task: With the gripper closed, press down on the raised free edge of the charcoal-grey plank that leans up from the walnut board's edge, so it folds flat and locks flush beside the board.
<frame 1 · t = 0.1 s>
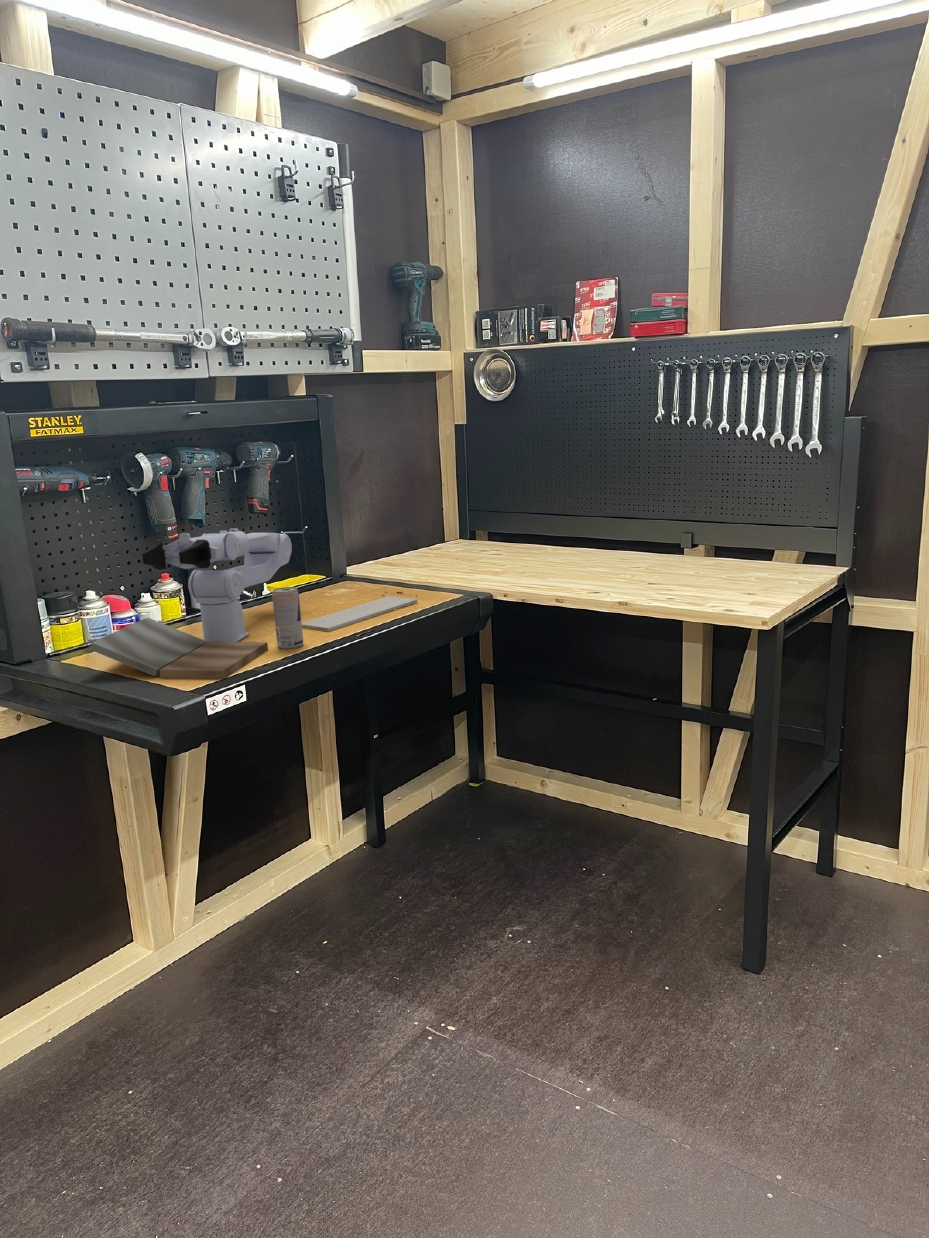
hand: (162, 558, 175), 22 cm above the table, tool horizontal, fingers open, 7 cm apart
baseboard molding: (356, 617, 218), on the table
laid board: (216, 663, 182), on the table
energy drink: (290, 646, 192), on the table
plank: (151, 645, 184), point 4 cm above the table, hinge at 22.0°
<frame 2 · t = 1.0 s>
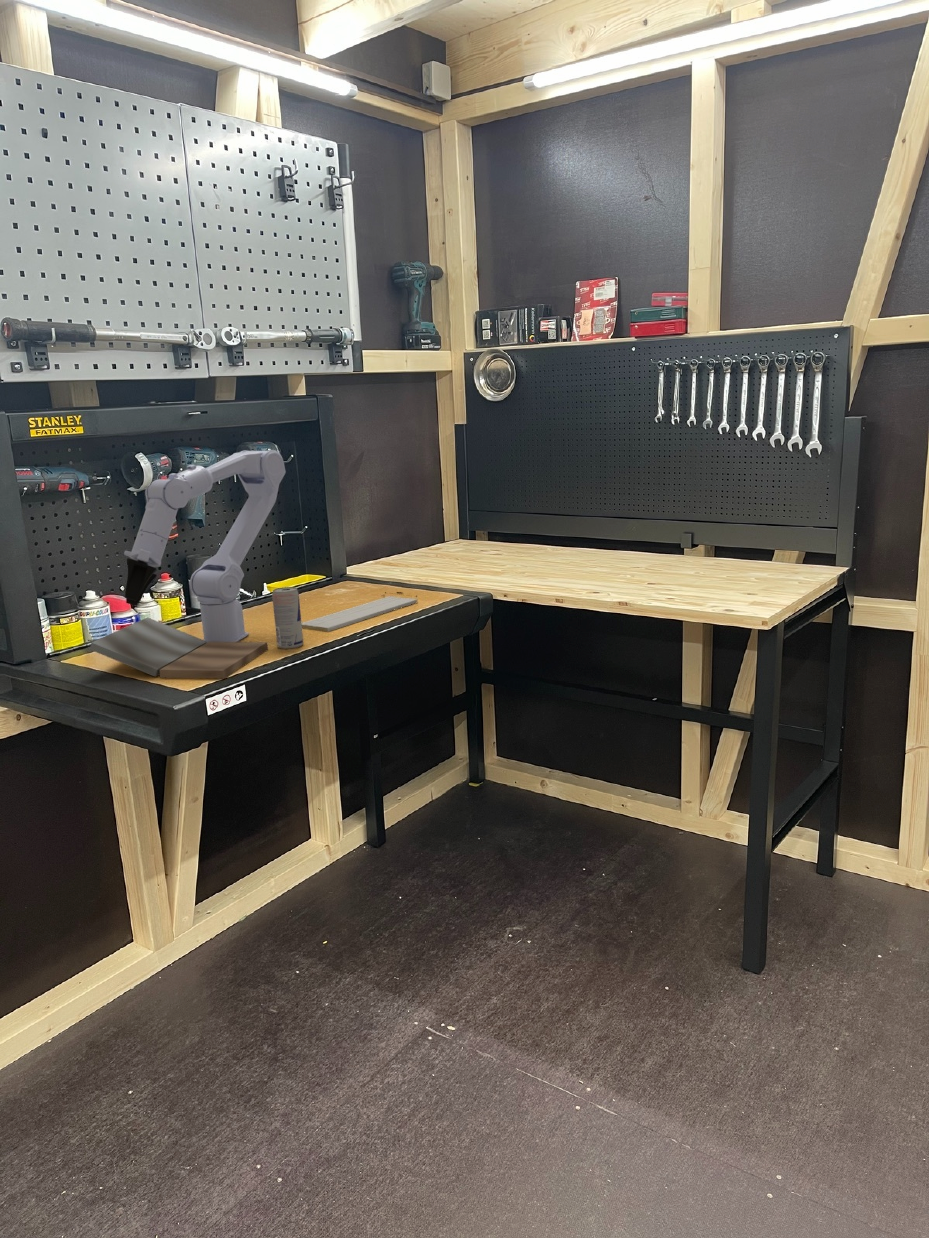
hand: (130, 601, 179), 13 cm above the table, tool tilted 30°, fingers open, 7 cm apart
nothing on the table moved.
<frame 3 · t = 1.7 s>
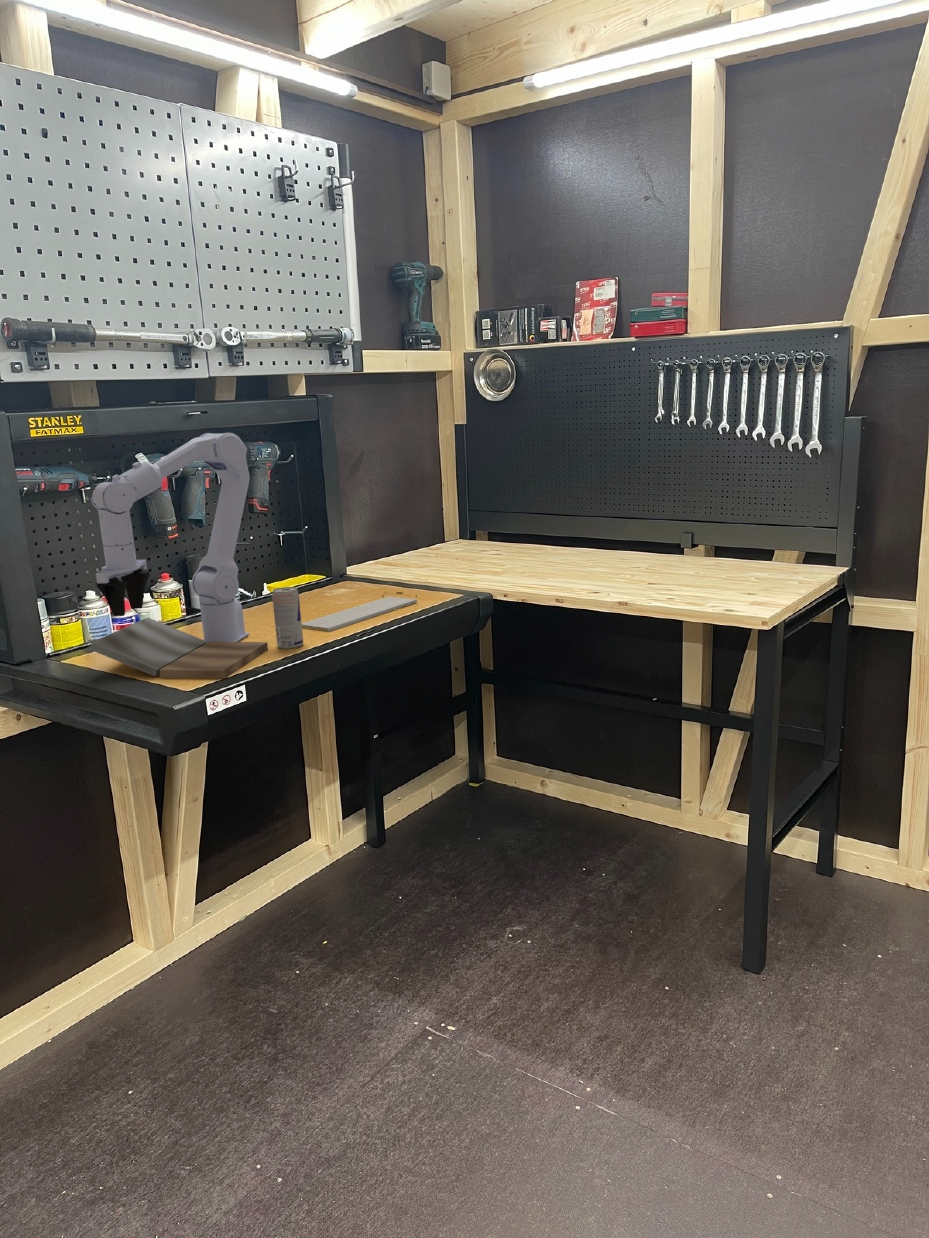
hand: (128, 611, 183), 10 cm above the table, tool pointing down, fingers open, 6 cm apart
nothing on the table moved.
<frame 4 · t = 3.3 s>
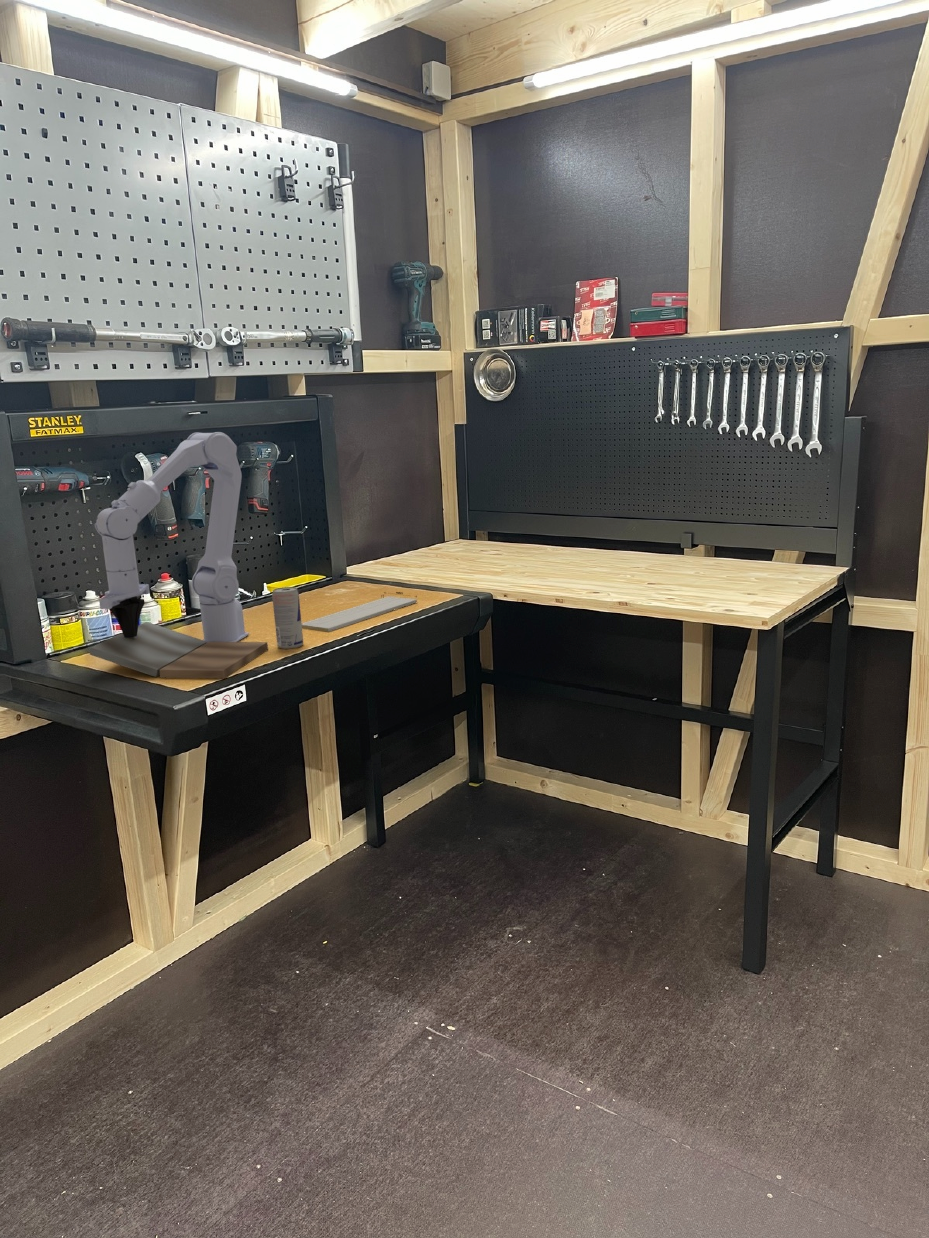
hand: (130, 636, 184), 5 cm above the table, tool pointing down, fingers closed, pressing on plank
plank: (151, 647, 184), point 3 cm above the table, hinge at 17.8°, touching gripper
everything else where it was.
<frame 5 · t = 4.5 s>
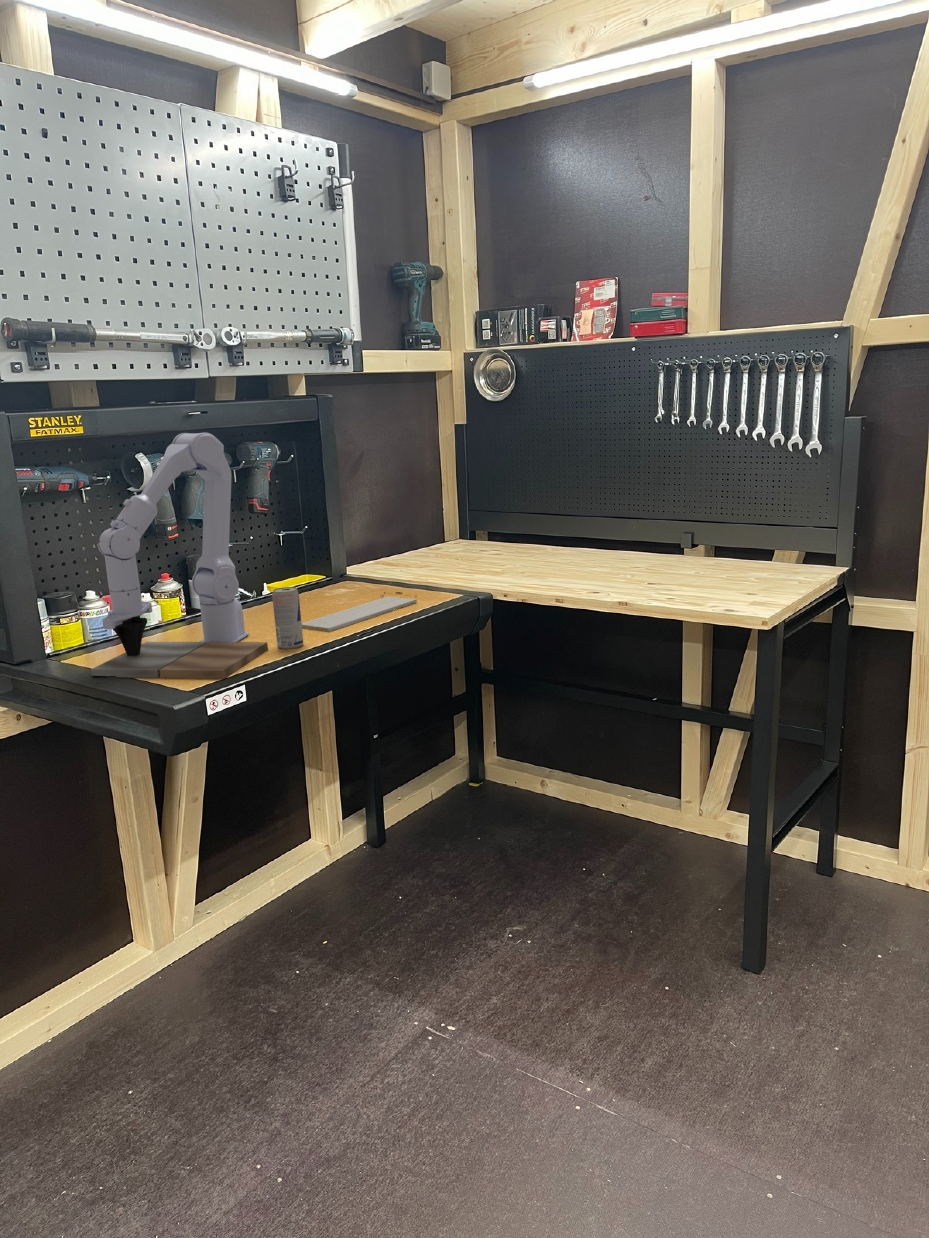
hand: (133, 655, 185), 1 cm above the table, tool pointing down, fingers closed, pressing on plank
plank: (152, 658, 184), point 1 cm above the table, hinge at -0.2°, touching gripper
everything else where it was.
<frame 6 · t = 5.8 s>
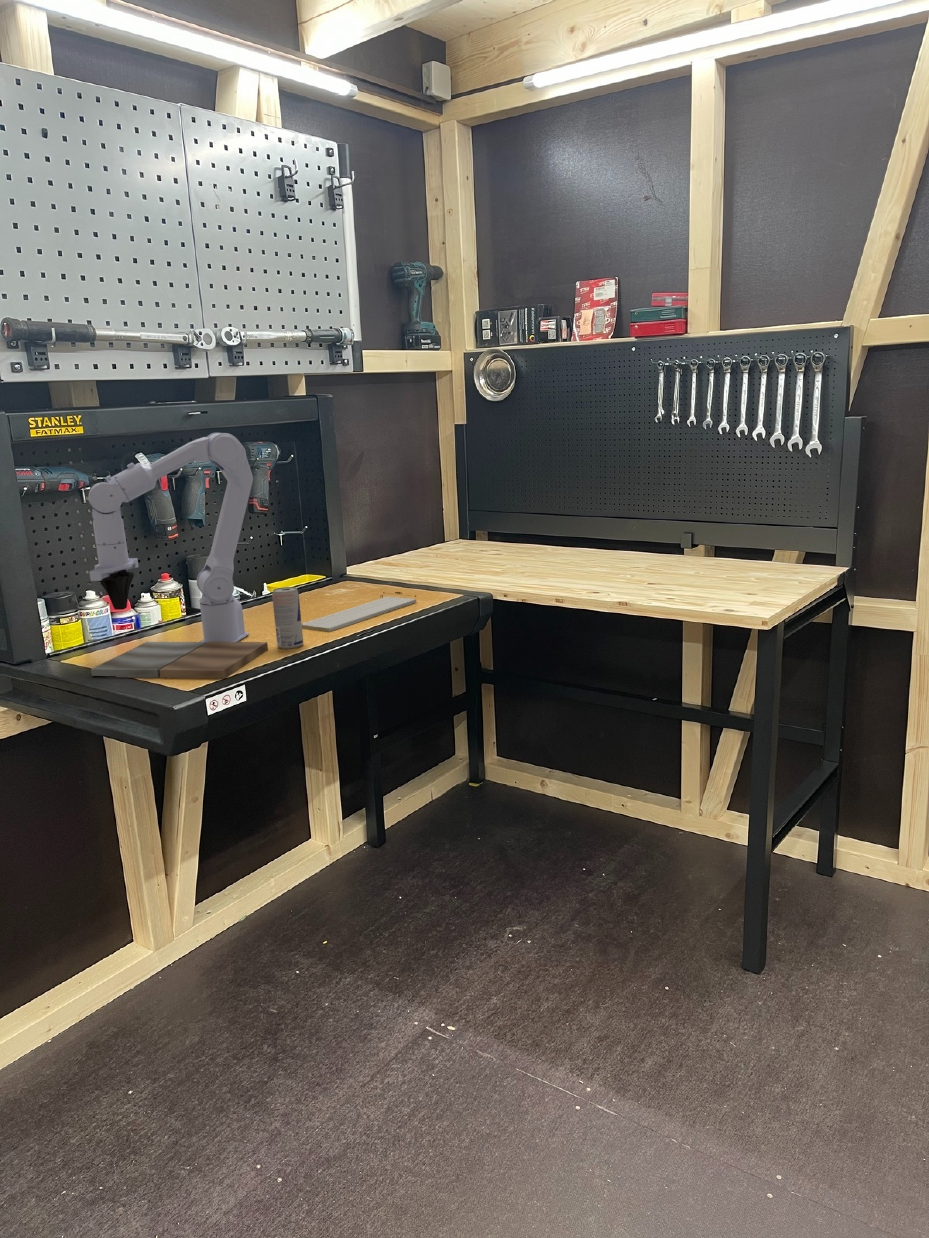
hand: (120, 608, 188), 10 cm above the table, tool pointing down, fingers closed
plank: (152, 658, 184), point 1 cm above the table, hinge at -0.2°
everything else where it was.
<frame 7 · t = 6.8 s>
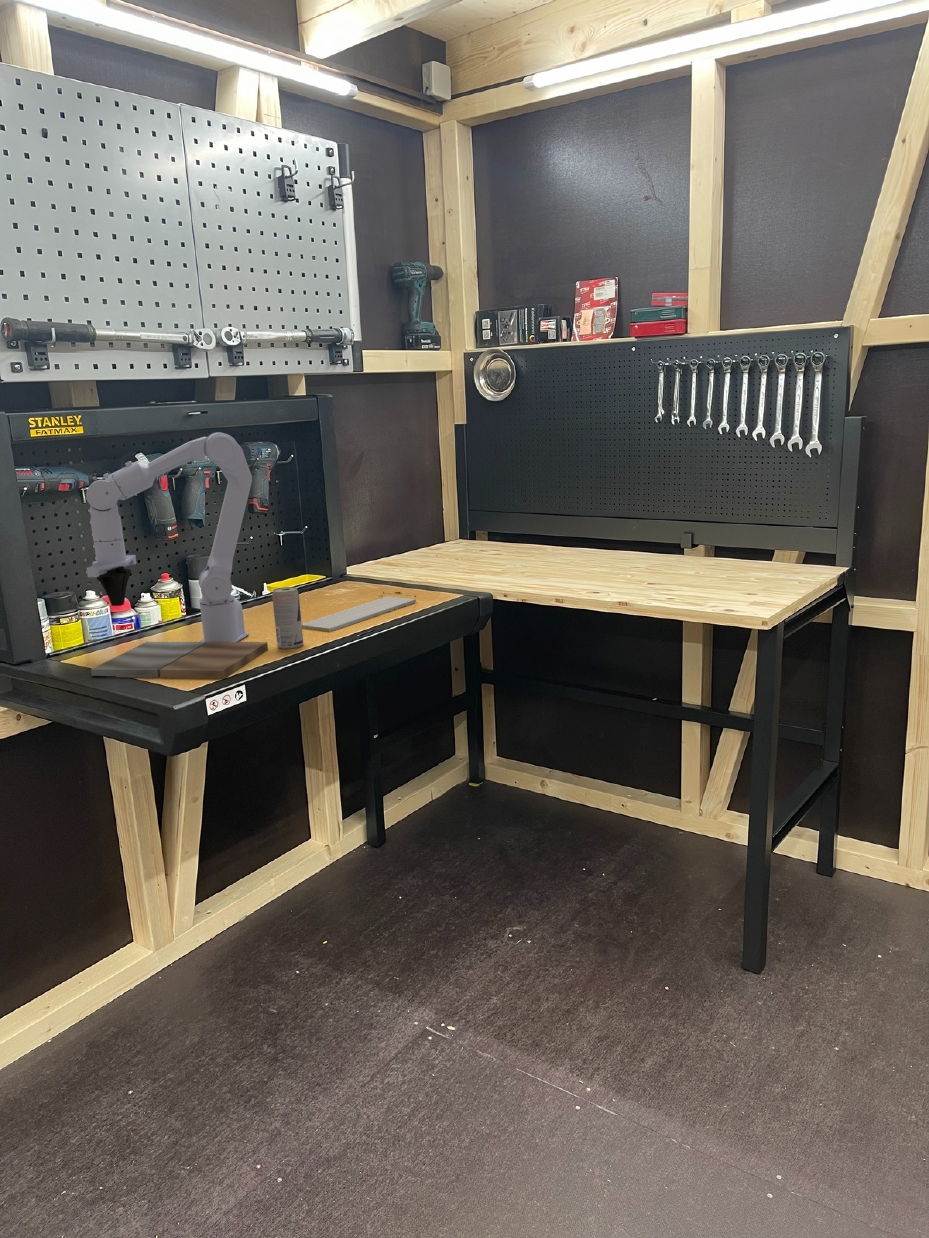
hand: (118, 605, 190), 10 cm above the table, tool pointing down, fingers closed
nothing on the table moved.
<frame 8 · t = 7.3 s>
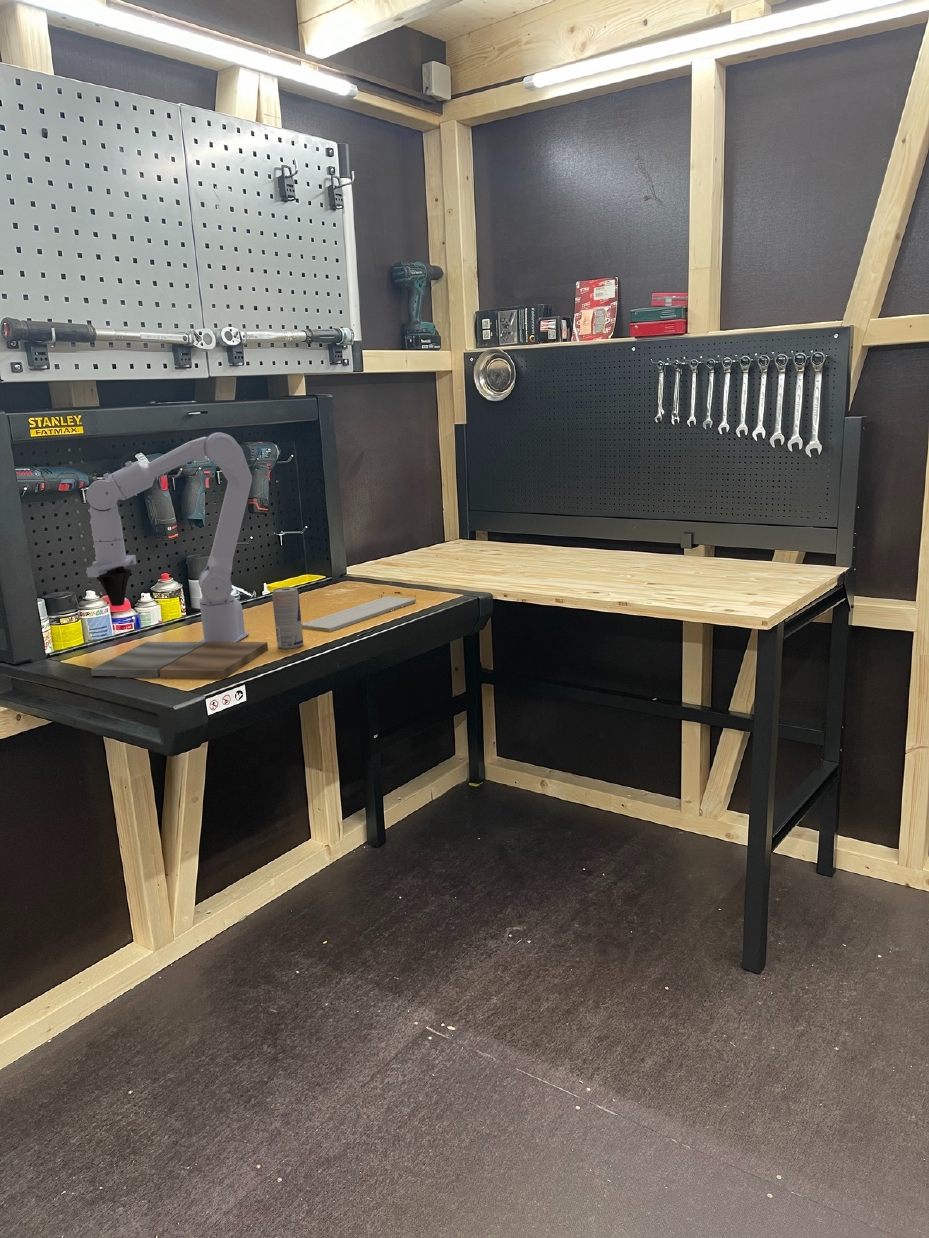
hand: (118, 605, 190), 10 cm above the table, tool pointing down, fingers closed
nothing on the table moved.
at the end: plank at +0° (first picture: +22°); energy drink moved 0.2 cm from its start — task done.
